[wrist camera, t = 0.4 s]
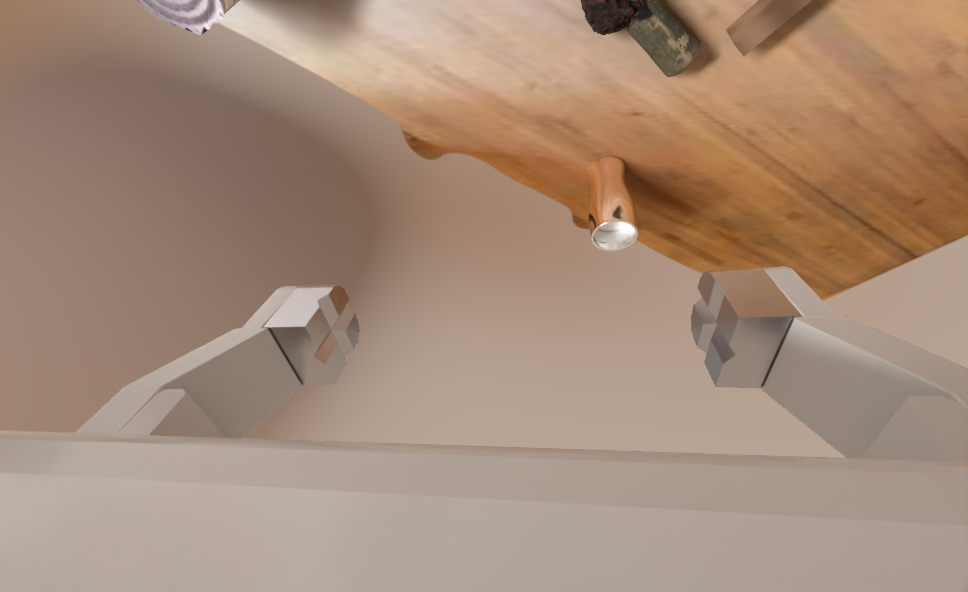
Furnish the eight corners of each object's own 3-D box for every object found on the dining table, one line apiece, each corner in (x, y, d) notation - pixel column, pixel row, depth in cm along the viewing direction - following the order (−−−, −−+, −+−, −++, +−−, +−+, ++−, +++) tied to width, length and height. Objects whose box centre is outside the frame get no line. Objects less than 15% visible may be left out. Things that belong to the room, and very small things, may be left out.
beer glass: (611, 145, 62) (621, 211, 53) (636, 171, 65) (648, 237, 57) (576, 171, 66) (579, 235, 58) (601, 194, 70) (607, 258, 61)
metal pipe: (697, 34, 49) (707, 56, 45) (650, 77, 53) (656, 100, 50) (602, -83, 41) (606, -66, 38) (556, -21, 45) (556, -1, 42)
